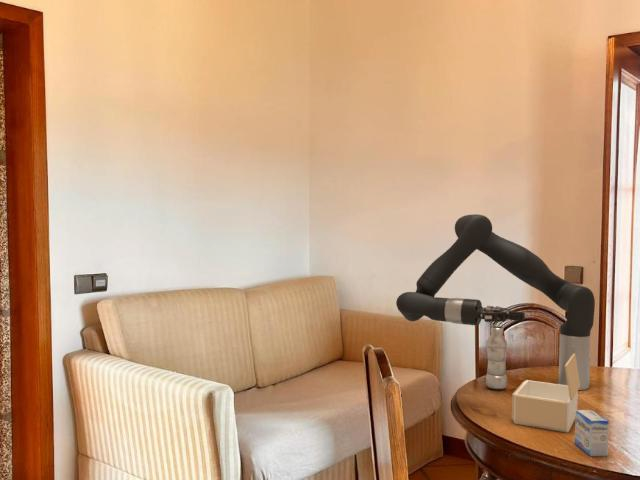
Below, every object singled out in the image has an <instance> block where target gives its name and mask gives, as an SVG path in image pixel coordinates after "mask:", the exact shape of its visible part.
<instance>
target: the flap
mask: <svg viewBox="0 0 640 480" xmlns="http://www.w3.org/2000/svg"><path fill="white" fill-rule="evenodd" d="M565 371H566V377H567V383H568V390H569V396H570V400H573V398H574V396H575V394H576V392H577V391H578V392H579V390H578V389H579V387H580V380H579V374H578V368H577V361H576V355H575V354H573V355H572V356H571V358H570V359H569V361H568V362H567V363H566V365H565Z"/></svg>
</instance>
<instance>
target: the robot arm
mask: <svg viewBox="0 0 640 480" xmlns="http://www.w3.org/2000/svg"><path fill="white" fill-rule="evenodd" d="M454 232H455V235H456V237H457V239H456V240H455V242H454V243H453V244H452V245H451V246H450V247H449V248H448V249H447V250H445V251H444V252H443V253H442V254H440V255H439V257H437V258H436V259H435V260H434V261H432V263H431V264H430V265H429V266H428V267H427V268H426V269H425V270H424V272H422V274H421V275H420V277H419V278H418V279H417V280H416V290H415V291H407V292H406V291H405V292H403V293H401V294H399V295H398V296H397V298H396V301H395V302H396V303H395V304H396V305H395V306H396V307H397V310H398V311H399V313H401V314H402V316H403V317H404V318H405V319H406V320H407V321H408V322H416V321H419V320H420V319H421V318H423V317H424V316H425V317H427V318H428V319H430V320H431V321H437V322H445V323H451V324H456V325H457V324H458V325H468V326H475V327H476V326H479V325H480V324H481V322H482V320H484V322H486V323H489V322H495V323H497V322H509V321H517V322H523V321H525V319H526V313H525V312H522V311H516V310H515V311H512V310H511V309H510V308H506V307H501V306H493V305H487V306H485V307H483V305H482V302H481V300H480V299H477V298H476V299H473V298H461V297H453V298H452V297H451V298H450V297H436V294H437V293H439V291H440V290H441V288H442V287H444V285H445V284H446V282H447V281H448V280H449V279H450V278H451V276H452V275H453V274H454V272H455V271H457V269H458V268H459V267H460V266H461V265H462V264H463V263H464V262H465V261H466V260H467V259H468V258H469V257H470V256H471V255H472V254H473V253H474V252H476V250H478V251H479V252H481V253H482V254H484V255H486V256H487V257H489V258H490V259H491V260H493V261H494V262H495V263H497V264H498V265H499V266H500V267H501V268H503V269H505V270H506V271H507V272H508V273H510V274H512V276H515V278H518V280H520V281H522V282H523V283H525V284H527V285H529V286H530V287H532V288H534V289H536V290H538V291H539V292H541V293H543V294H544V295H545V296H546V297H547V298H549V299H550V300H551V301H552V302H553V303H554V304H555V305H556V306H558V308H560V309H561V310H563V311H565V312H567V313H566V320H565V322H564V323H561V324H560V325H559V349H558V351H559V352H558V356H559V357H558V382H557V384H560V385H567V386H568V383H567V377H566V371H565V365H566V363H567V362H568V361H569V359H570V358H571V356H572V355H573V354H575V355H576V361H577V368H578V374H579V380H580V387H579V389H578V391H585V390H587V389H589V388H590V383H591V379H590V376H591V356H590V355H591V353H590V352H591V332H592V331H591V330H592V328H593V326H594V323H595V322H594V319H595V309H596V308H595V306H596V305H595V304H596V301H595V295H594V292H593V291H592V290H591V289H590V288H589V287H587V286H583V285H579V284H574V283H571V282H570V281H567V280H566V279H564V278H562V277H560V276H558V275H556V274H555V273H554V272H553V271H552V270H551V269H550V268H549V266H548V265H547V264H546V263H545V261H544V260H542V259H541V258H540V257H539V256H538V255H537V254H535V253H533V252H532V251H530V250H529V249H528V248H526V247H525V246H522V245H520V244H518V243H517V242H516V243H515V242H513V241H511V240H508V239H506V238H504V237H501V236H499V235H498V234H496V233H495V232H493V224H492V222H491V220H490V219H489V218H488V217H487V216H486V215H483V214H466V215H463V216H461V217H459V218H458V219H457V220H456V222H455V224H454Z"/></svg>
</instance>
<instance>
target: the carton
mask: <svg viewBox="0 0 640 480" xmlns="http://www.w3.org/2000/svg"><path fill="white" fill-rule="evenodd" d="M578 394H579V390H578V391H577V392H576V394H575V396H574V398H573V400H570V396H569V390H568V386H567V385H560V384H558V383H551V382H543V381H537V380H536V381H535V380H530V379H529V380H528V379H527V380H523V382H521V384H520V385H519V386H518V387H517V388H516V389H515V391H513V393H512V395H511V420H512V421H513V424H515V425H516V424H517V425H521V426H527V427H534V428H538V429H545V430H550V431H557V432H562V433H569V432H570V430H571V429H572V426H573V425H574V423H575V421H576V411H577V410H578V402H579V401H578V399H579V397H578V396H579V395H578Z"/></svg>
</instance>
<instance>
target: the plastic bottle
mask: <svg viewBox="0 0 640 480" xmlns="http://www.w3.org/2000/svg"><path fill="white" fill-rule="evenodd" d="M490 333H491V334H490V336H488V338H487V340H486V343H485V345H486V353H487V369H486V376H485V384H486V386H487V387H488V388H489V389H493V390H503V389H506V388H507V385H508V377H507V371H506V370H507V367H506V359H507V350H508V342H507V339H506V338H505V336H504V326H500V325H493V326H491V328H490Z"/></svg>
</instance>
